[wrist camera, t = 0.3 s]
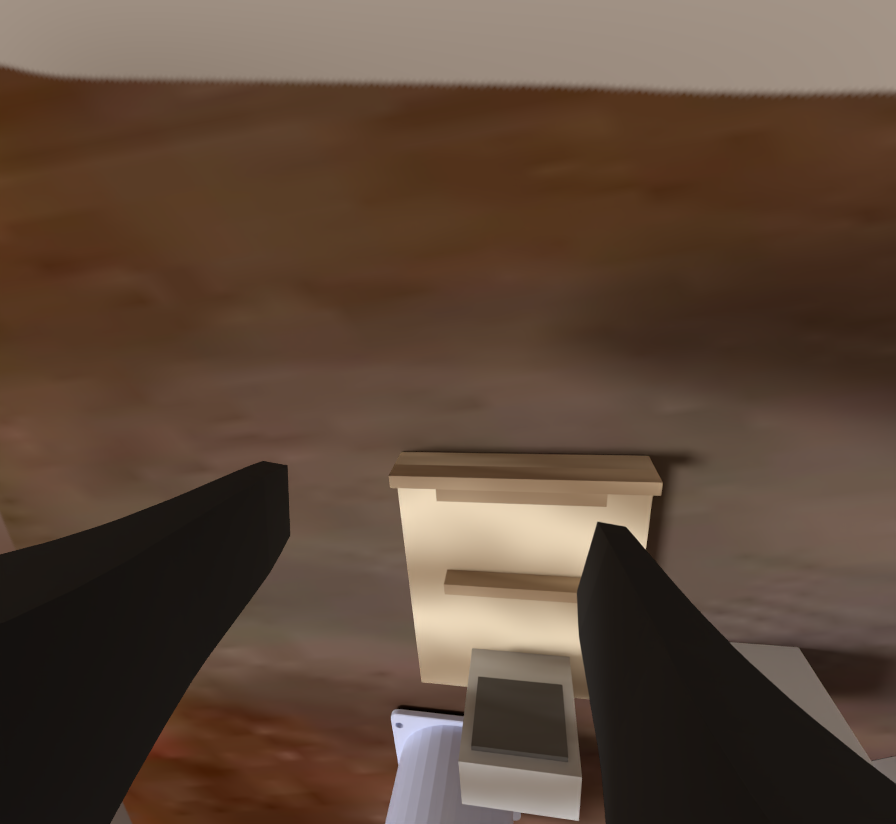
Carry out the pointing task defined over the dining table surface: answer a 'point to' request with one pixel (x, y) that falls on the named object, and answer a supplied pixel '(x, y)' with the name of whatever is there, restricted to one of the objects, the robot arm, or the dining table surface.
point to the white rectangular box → (801, 687)
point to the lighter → (887, 767)
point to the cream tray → (512, 604)
